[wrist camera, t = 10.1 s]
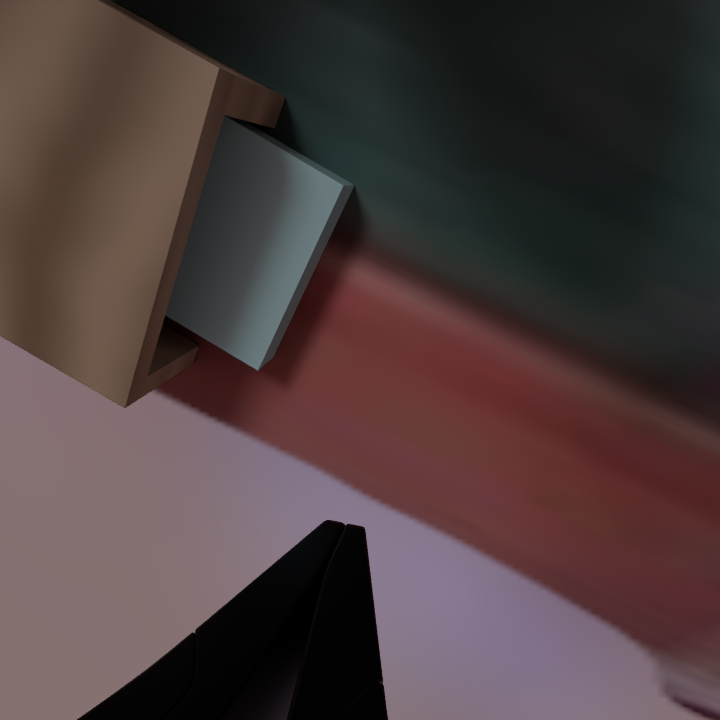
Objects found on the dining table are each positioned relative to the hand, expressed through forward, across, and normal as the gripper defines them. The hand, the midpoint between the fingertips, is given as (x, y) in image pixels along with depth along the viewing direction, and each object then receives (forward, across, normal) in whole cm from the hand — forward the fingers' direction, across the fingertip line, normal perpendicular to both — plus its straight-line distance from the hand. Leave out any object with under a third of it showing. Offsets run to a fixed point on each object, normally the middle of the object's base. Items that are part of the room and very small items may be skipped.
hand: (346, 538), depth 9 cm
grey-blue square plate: (+12, +10, -5) cm, 16 cm away
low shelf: (+12, +12, -5) cm, 18 cm away
